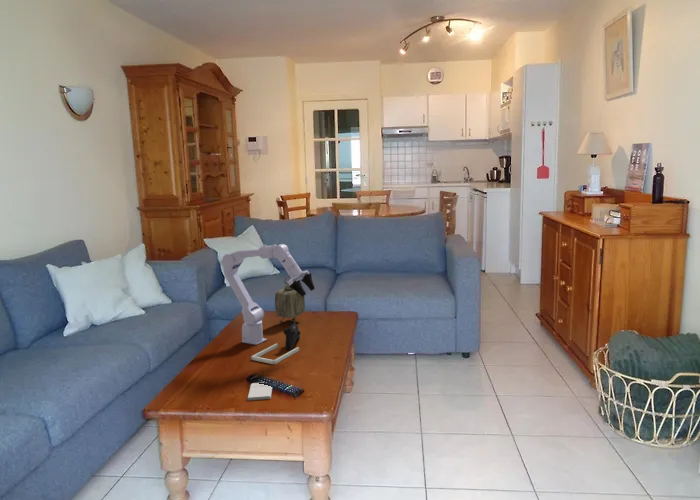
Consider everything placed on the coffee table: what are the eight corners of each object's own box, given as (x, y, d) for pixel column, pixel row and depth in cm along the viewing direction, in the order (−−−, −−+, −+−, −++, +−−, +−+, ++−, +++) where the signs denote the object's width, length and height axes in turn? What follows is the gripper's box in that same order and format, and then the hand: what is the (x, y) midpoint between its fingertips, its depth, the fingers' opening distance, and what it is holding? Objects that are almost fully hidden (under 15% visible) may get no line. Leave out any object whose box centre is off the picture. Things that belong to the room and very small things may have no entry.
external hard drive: (247, 401, 185) (251, 387, 197) (270, 400, 185) (272, 385, 198) (247, 397, 184) (250, 382, 197) (270, 395, 185) (272, 381, 197)
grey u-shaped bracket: (251, 359, 223) (251, 356, 223) (276, 346, 238) (276, 343, 238) (274, 364, 217) (274, 361, 217) (299, 350, 232) (299, 347, 232)
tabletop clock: (294, 317, 283) (292, 272, 279) (307, 319, 278) (304, 274, 274) (275, 324, 272) (273, 277, 268) (288, 327, 266) (286, 279, 262)
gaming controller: (295, 351, 232) (294, 329, 230) (282, 350, 233) (281, 329, 231) (304, 340, 245) (303, 320, 244) (292, 340, 247) (290, 319, 245)
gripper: (288, 268, 226) (305, 293, 225) (306, 258, 238) (322, 283, 237) (278, 275, 229) (295, 301, 229) (296, 266, 242) (312, 290, 241)
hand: (308, 292), depth 233 cm, fingers open, 7 cm apart
